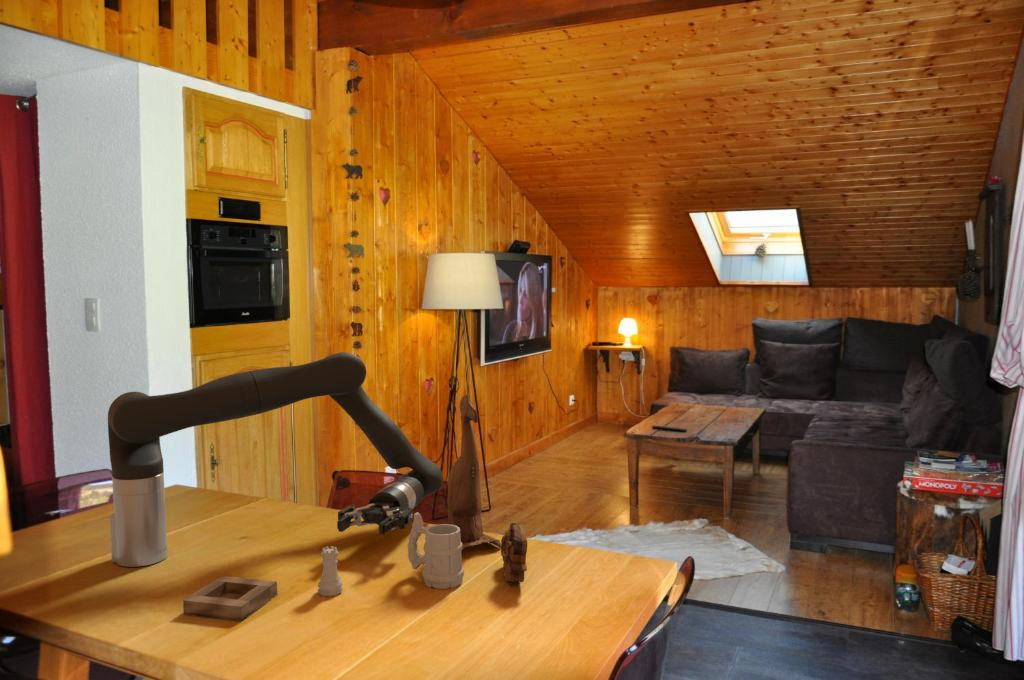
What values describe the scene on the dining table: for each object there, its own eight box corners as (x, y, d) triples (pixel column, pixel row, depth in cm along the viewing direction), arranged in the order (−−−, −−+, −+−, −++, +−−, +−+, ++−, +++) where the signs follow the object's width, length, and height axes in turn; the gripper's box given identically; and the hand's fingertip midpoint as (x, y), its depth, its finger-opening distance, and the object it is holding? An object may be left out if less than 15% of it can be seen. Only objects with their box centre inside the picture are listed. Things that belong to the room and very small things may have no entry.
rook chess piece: (348, 589, 146) (347, 545, 145) (334, 598, 142) (333, 554, 141) (326, 586, 148) (325, 543, 147) (312, 595, 143) (311, 551, 143)
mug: (448, 593, 144) (447, 527, 143) (396, 580, 150) (395, 516, 149) (472, 578, 151) (471, 515, 150) (421, 567, 157) (420, 506, 156)
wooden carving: (492, 563, 158) (492, 513, 158) (515, 561, 159) (515, 512, 159) (509, 597, 142) (509, 541, 142) (535, 594, 143) (535, 539, 142)
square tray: (183, 614, 136) (182, 600, 135) (222, 589, 146) (222, 575, 146) (241, 621, 133) (241, 606, 133) (277, 595, 144) (276, 581, 143)
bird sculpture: (457, 562, 160) (460, 402, 156) (425, 545, 169) (427, 393, 165) (502, 550, 167) (506, 397, 163) (469, 534, 176) (471, 388, 172)
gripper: (361, 484, 173) (325, 507, 157) (424, 488, 169) (394, 511, 154) (362, 518, 174) (327, 544, 158) (425, 523, 170) (395, 550, 155)
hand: (360, 528), depth 156 cm, fingers open, 8 cm apart
